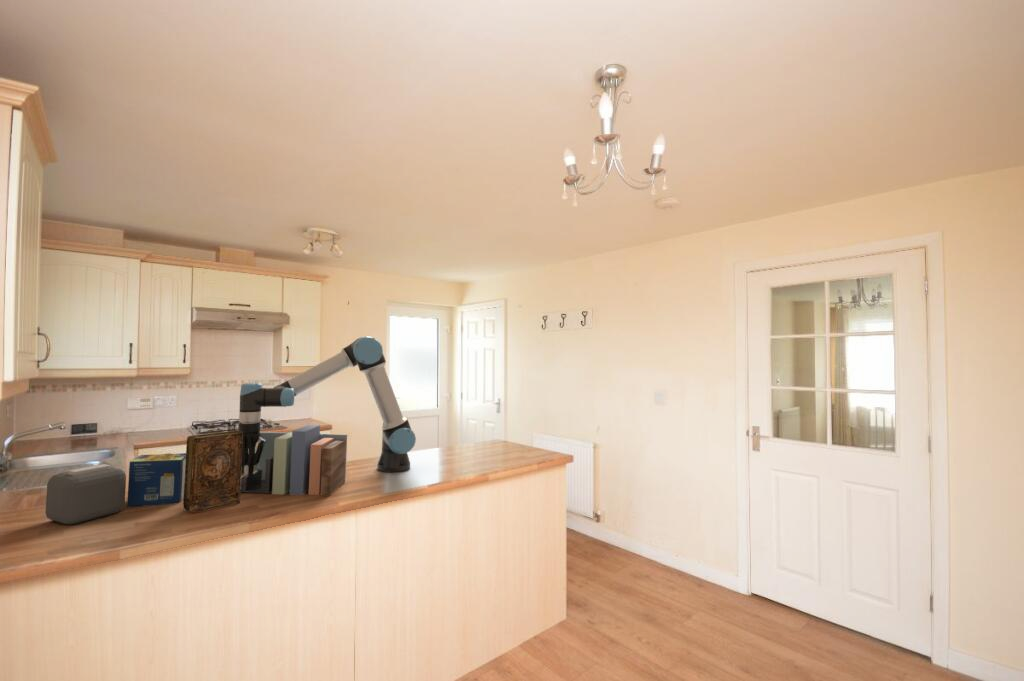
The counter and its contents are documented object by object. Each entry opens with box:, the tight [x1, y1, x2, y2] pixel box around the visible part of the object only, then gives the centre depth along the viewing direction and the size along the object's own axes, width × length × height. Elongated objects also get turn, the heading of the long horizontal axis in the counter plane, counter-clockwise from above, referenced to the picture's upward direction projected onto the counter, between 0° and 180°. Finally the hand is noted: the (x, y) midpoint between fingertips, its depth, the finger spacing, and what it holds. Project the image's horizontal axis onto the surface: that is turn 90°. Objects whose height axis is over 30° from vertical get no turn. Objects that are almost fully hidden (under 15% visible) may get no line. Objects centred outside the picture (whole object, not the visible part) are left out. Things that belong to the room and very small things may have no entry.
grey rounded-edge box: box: [45, 463, 127, 525], centre depth 149 cm, size 16×11×16 cm
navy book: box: [289, 424, 321, 496], centre depth 185 cm, size 5×15×24 cm, turn 2°
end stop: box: [319, 440, 346, 497], centre depth 186 cm, size 4×17×18 cm, turn 2°
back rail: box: [256, 431, 348, 484], centre depth 194 cm, size 36×1×20 cm, turn 92°
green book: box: [271, 431, 292, 495], centre depth 185 cm, size 4×15×21 cm, turn 2°
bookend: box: [240, 456, 274, 495], centre depth 184 cm, size 12×16×13 cm
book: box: [182, 430, 243, 514], centre depth 162 cm, size 16×6×25 cm, turn 143°
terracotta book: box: [308, 438, 334, 496], centre depth 185 cm, size 4×14×19 cm, turn 2°
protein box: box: [126, 452, 186, 507], centre depth 166 cm, size 10×15×16 cm
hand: (247, 481), depth 184 cm, fingers closed
